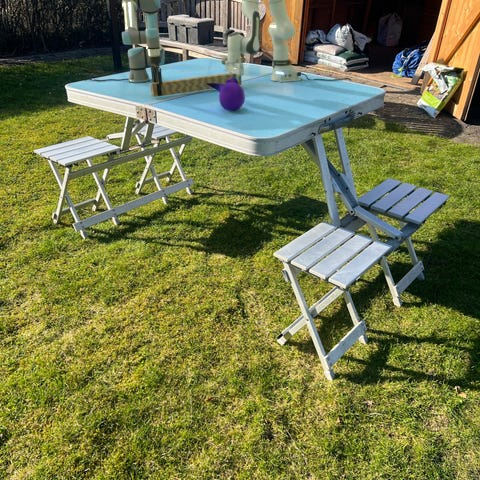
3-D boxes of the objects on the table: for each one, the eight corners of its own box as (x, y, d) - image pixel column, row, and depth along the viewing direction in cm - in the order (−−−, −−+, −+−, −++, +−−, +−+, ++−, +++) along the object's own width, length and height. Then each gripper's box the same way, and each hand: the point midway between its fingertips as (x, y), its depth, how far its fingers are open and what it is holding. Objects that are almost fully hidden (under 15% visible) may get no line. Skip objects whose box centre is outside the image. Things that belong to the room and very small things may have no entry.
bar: (153, 97, 286) (152, 84, 282) (151, 95, 290) (150, 83, 286) (241, 84, 313) (241, 72, 309) (238, 83, 316) (238, 72, 312)
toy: (230, 101, 277) (244, 117, 257) (203, 96, 270) (216, 112, 249) (236, 75, 269) (252, 89, 249) (209, 70, 262) (222, 84, 241)
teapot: (225, 72, 364) (224, 52, 356) (218, 70, 372) (217, 50, 365) (247, 69, 373) (247, 50, 365) (240, 67, 381) (240, 48, 374)
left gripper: (165, 57, 272) (168, 96, 284) (155, 53, 286) (159, 91, 297) (153, 58, 269) (157, 98, 281) (144, 54, 283) (148, 92, 294)
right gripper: (246, 60, 298) (246, 82, 305) (231, 56, 313) (232, 77, 320) (237, 61, 295) (238, 83, 302) (223, 57, 311) (224, 78, 318)
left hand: (158, 94), depth 289 cm, fingers closed on bar, 4 cm apart
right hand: (234, 80), depth 311 cm, fingers closed on bar, 4 cm apart
